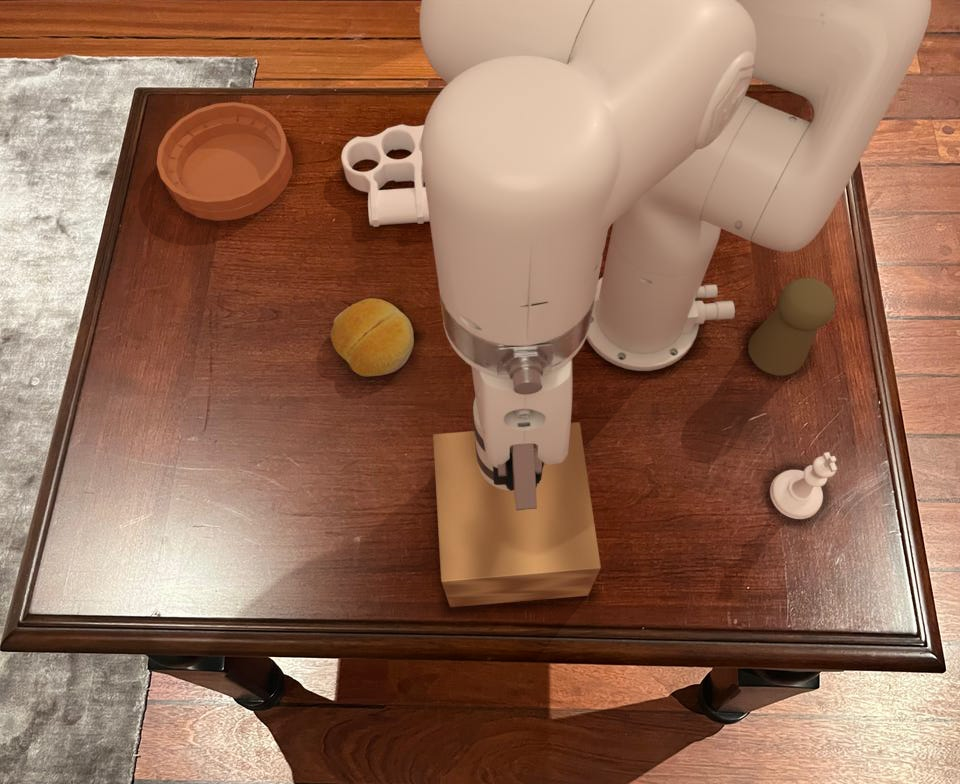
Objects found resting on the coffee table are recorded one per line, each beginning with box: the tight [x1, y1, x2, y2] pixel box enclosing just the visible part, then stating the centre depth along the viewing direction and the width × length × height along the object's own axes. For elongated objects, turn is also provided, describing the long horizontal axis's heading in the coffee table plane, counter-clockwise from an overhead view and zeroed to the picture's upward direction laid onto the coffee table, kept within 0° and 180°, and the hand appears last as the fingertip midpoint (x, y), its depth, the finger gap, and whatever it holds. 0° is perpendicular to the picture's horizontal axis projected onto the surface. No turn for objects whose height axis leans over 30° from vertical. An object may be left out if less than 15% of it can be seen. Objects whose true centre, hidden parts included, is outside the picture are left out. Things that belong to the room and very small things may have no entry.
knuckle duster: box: [340, 123, 430, 228], centre depth 95 cm, size 3×18×15 cm
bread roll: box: [330, 297, 415, 378], centre depth 85 cm, size 8×9×4 cm
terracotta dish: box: [156, 101, 294, 222], centre depth 96 cm, size 15×15×4 cm
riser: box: [432, 421, 602, 608], centre depth 72 cm, size 13×13×11 cm
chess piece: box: [769, 451, 838, 520], centre depth 74 cm, size 5×5×10 cm
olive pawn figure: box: [747, 277, 837, 376], centre depth 80 cm, size 6×6×11 cm
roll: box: [472, 396, 545, 491], centre depth 55 cm, size 5×5×9 cm
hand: (513, 438), depth 55 cm, fingers closed on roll, 5 cm apart
